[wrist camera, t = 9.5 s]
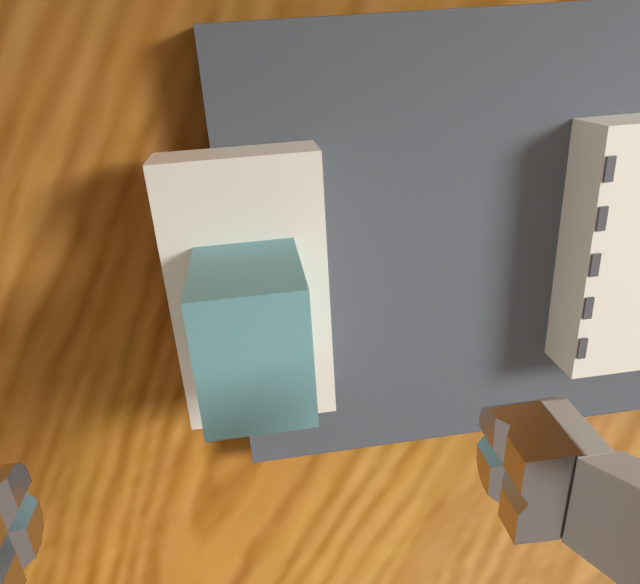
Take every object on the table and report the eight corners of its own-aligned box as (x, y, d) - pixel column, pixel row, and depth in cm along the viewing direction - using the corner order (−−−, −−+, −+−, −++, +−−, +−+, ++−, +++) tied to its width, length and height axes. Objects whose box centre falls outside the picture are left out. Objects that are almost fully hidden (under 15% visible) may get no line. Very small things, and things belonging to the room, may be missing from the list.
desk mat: (196, 25, 17) (193, 24, 16) (882, -16, 20) (929, -20, 19) (251, 439, 24) (252, 462, 23) (762, 370, 26) (791, 388, 25)
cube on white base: (152, 152, 17) (113, 202, 12) (312, 140, 18) (346, 181, 12) (195, 396, 21) (181, 519, 16) (327, 380, 22) (358, 493, 16)
